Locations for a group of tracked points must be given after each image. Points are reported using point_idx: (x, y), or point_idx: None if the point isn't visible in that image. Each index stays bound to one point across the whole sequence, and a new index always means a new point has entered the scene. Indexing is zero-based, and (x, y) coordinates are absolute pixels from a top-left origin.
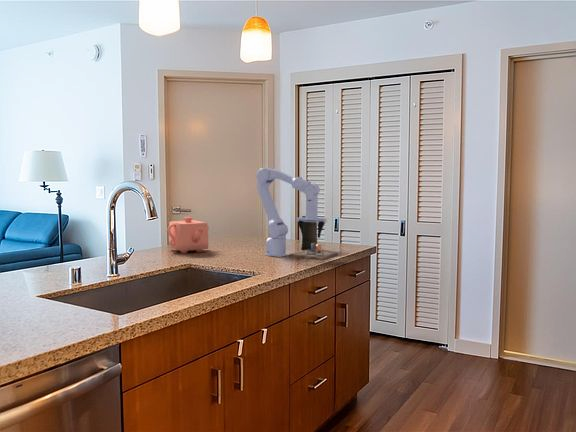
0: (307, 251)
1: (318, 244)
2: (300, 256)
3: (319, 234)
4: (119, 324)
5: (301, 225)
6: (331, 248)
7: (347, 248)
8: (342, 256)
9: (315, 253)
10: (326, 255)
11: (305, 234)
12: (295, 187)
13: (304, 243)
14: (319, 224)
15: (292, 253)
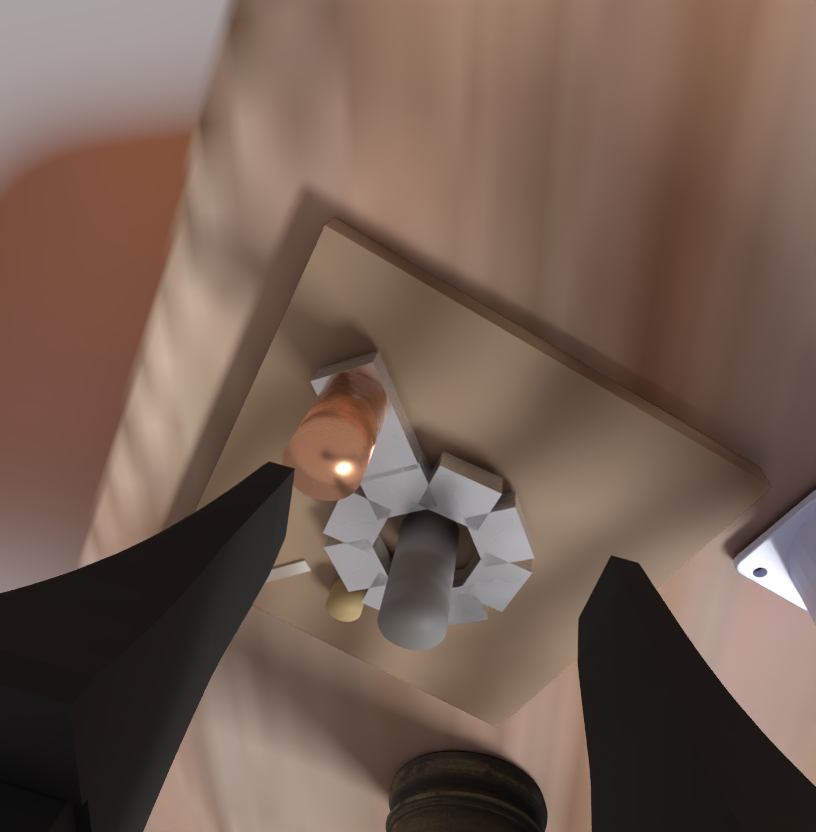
0: (508, 513)
1: (331, 474)
2: (614, 389)
3: (227, 492)
4: None
5: (773, 812)
6: (284, 813)
7: (163, 799)
8: (126, 476)
9: (404, 423)
10: (269, 397)
11: None
12: None
13: None
14: (27, 646)
15: (704, 537)
